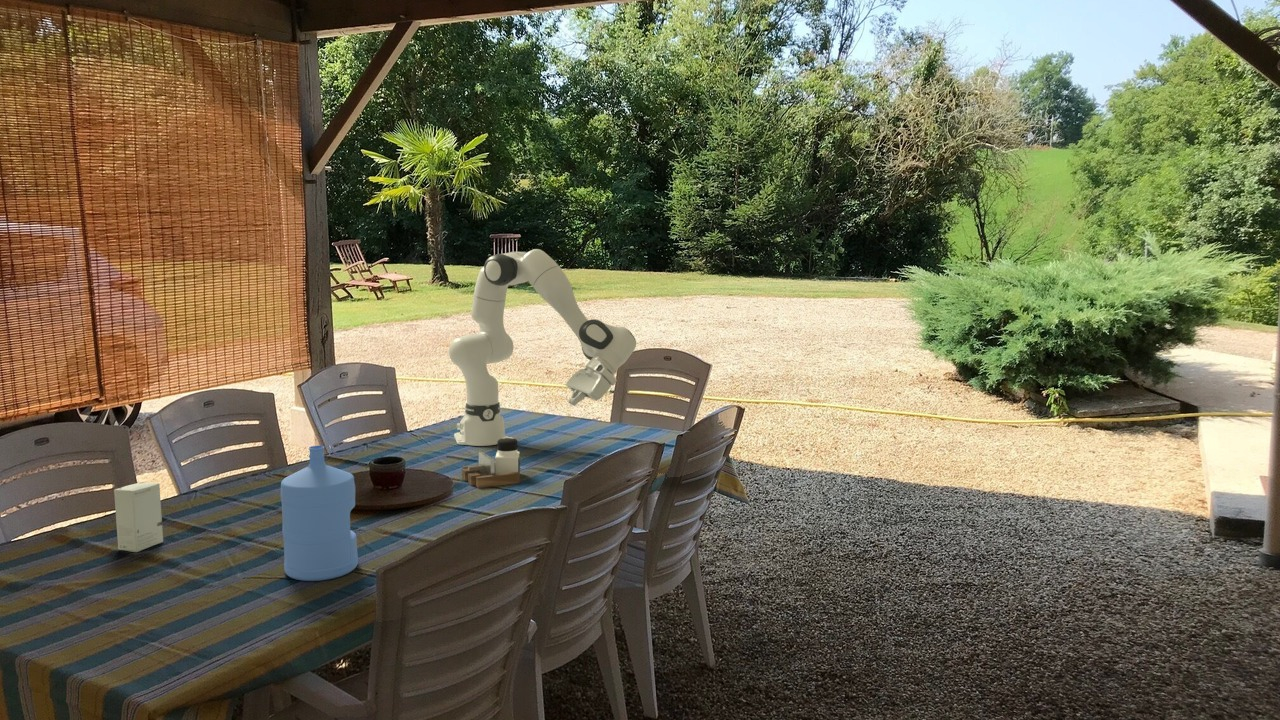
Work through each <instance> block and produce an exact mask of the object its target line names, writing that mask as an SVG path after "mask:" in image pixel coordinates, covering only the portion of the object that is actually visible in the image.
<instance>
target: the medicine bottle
mask: <svg viewBox="0 0 1280 720" xmlns="http://www.w3.org/2000/svg"><path fill="white" fill-rule="evenodd" d="M497 443H498V444H497V451H496V454H495V457H494V463H495V475H496V474H504V473H512V472H518V473H519V477H520V475H521V457H520V456H521V454H520V453H521V452H520V451H518V440H517V438H514V437H509V436H508V438H501V439H499V440H498V441H497Z"/></svg>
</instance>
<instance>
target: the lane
mask: <svg viewBox="0 0 1280 720" xmlns="http://www.w3.org/2000/svg"><path fill="white" fill-rule="evenodd" d="M478 465H479V464H470V465H462V467H461V468H462V469H461V476H462V477H461V478H462V480H463V481H464V482H467V483H468V484H469V486H470V487H476V488H477V489H481V488H488V487H489V488H490V487H495V486H496V487H498V486H503V485H504V486H505V485H510V484H511V485H512V484H519V483H520V476H519V473H518V472H512V473H504V474H496V475H488V476H481V475H480V474H479V470H477V471H468V467H469V466H478ZM494 466H495V462H494Z"/></svg>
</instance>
